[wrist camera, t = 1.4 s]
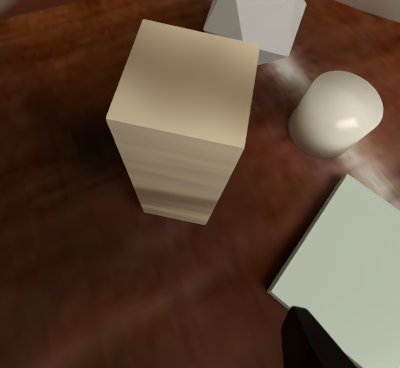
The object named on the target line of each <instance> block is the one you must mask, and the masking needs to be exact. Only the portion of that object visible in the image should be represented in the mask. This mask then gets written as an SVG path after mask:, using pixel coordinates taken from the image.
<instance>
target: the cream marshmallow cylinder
mask: <svg viewBox="0 0 400 368" xmlns="http://www.w3.org/2000/svg"><path fill="white" fill-rule="evenodd" d="M382 116H383V104H382V101H381V98H380V96H379V94H378V93H377V91H376V90H375V89H374V88H373V87H372V86H371V85H370V84H369V83H368V82H367V81H366V80H364V79H363V78H361V77H359V76H357V75H355V74H352V73H349V72H345V71H330V72H326V73H324V74H322V75H320V76H319V77H317V78H316V79H315V80H314V82H313V83H312V85H311V86H310V88H309V89H308V91H307V92H306V94H305V95H304V97H303V98H302V100H301V101H300V102H299V104H298V105H297V107H296V108H295V110H294V111H293V113H292V114H291V116H290V118H289V122H288V129H289V134H290V136H291V138H292V140H293V142H294V143H295V144H296V146H297V147H298V148H299V149H300V150H302V151H303V152H304V153H306V154H308V155H310V156H312V157H315V158H319V159H332V158H335V157H338V156H340V155H341V154H343V153H344V152H345V151H346V150H348V149H349V148H350V147H351V146H353V145H354V144H355V143H356V142H358V141H359V140H360V139H361V138H363V137H364V136H365V135H366V134H368V133H369V132H370V131H371V130H373V129H374V128H375V127H376V126H377V125H378V124H379V123H380V121H381V119H382Z"/></svg>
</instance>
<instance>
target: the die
mask: <svg viewBox="0 0 400 368" xmlns="http://www.w3.org/2000/svg"><path fill="white" fill-rule="evenodd" d="M305 6H306V3H305V1H304V0H213V2H212V5H211V7H210V10H209V13H208V16H207V19H206V22H205V25H204V28H203V30H204V31H205V33H208V34H213V35H217V36H222V37H226V38H231V39H235V40H240V41H244V42H249V43H253V44H258V45H260V49H259V55H258V62H257V65H260V64H264V63H268V62H271V61H275V60H279V59H282V58H286V57H288V56H289V54H290V51H291V48H292V45H293V42H294V39H295V36H296V33H297V30H298V27H299V24H300V21H301V18H302V15H303V12H304V9H305Z"/></svg>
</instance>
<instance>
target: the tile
mask: <svg viewBox="0 0 400 368" xmlns="http://www.w3.org/2000/svg"><path fill="white" fill-rule="evenodd" d="M267 292H268V293H269V294H270V295H272V296H273V297H274V298H275V299H276V300H278V301H279V302H280V303H281V304H282V305H284V306H285V307H286V308H287V309H288V310H289V309H290V307H292V306H299V307H304V308H306V309H308V310H309V311H310V313H311V314H312V315H313V316H314V317H315V318H316V320H317V321H318V322H319V323H320V324H321V325H322V327H323V328H324V329H325V330H326V331H327V333H328V334H329V335H330V336H331V337H332V338H333V340H334V341H335V342H336V343H337V344H338V345H339V347H340V348H341V349H342V350H343V351H344V352H345V354H346V355H347V356H348V357H349V358H350V359H351V361H352V362H353V363H354V364H355V365H356V366H357V367H358V368H400V211H399V210H398V209H396V208H395V207H394V206H392V205H391V204H389V203H388V202H387V201H385V200H384V199H382V198H381V197H380V196H378V195H377V194H375V193H374V192H372V191H371V190H370V189H368V188H367V187H365V186H364V185H363V184H361V183H360V182H358V181H357V180H355V179H354V178H353V177H351V176H350V175H348V174H347V175H345V176H344V177H342V178H341V179H340V181H339V182H338V184H337V185H336V187H335V188H334V190H333V191H332V193H331V194H330V196H329V197H328V199H327V200H326V202H325V203H324V205H323V206H322V208H321V209H320V211H319V213H318V214H317V216H316V217H315V219H314V220H313V222H312V223H311V225H310V226H309V228H308V229H307V231H306V232H305V234H304V235H303V237H302V238H301V240H300V241H299V243H298V244H297V246H296V247H295V249H294V251H293V252H292V254H291V255H290V257H289V258H288V260H287V261H286V263H285V264H284V266H283V267H282V269H281V270H280V272H279V273H278V275H277V276H276V278H275V279H274V281H273V282H272V284H271V286H270V287H269V289H268V290H267Z"/></svg>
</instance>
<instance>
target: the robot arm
mask: <svg viewBox="0 0 400 368" xmlns="http://www.w3.org/2000/svg"><path fill="white" fill-rule="evenodd" d="M281 336H282V350H283V364H284V368H357V367H356V365H355V364H354V363H353V362H352V361H351V359H350V358H349V357H348V356H347V355H346V354H345V352H344V351H343V350H342V349H341V348H340V347H339V345H338V344H337V343H336V342H335V341H334V340H333V338H332V337H331V336H330V335H329V334H328V333H327V331H326V330H325V329H324V328H323V327H322V325H321V324H320V323H319V322H318V321H317V320H316V318H315V317H314V316H313V315H312V314H311V313H310V311H309V310H308V309H306V308H304V307H299V306H292V307H290V309H289V311H288V313H287V316H286V318H285V320H284V322H283V324H282V329H281Z"/></svg>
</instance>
